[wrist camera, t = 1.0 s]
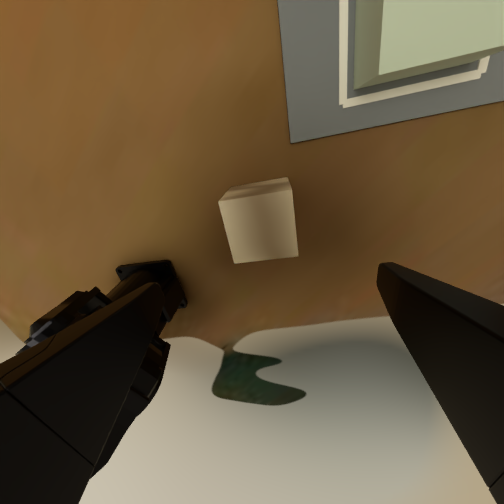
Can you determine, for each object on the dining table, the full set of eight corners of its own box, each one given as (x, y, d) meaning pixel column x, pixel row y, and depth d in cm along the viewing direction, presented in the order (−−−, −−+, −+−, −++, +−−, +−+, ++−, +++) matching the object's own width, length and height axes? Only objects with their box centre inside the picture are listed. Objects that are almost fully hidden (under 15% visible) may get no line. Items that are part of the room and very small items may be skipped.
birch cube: (242, 237, 21) (234, 263, 17) (230, 186, 19) (218, 201, 15) (293, 230, 20) (298, 256, 16) (287, 176, 18) (292, 189, 14)
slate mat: (290, 143, 17) (291, 143, 16) (267, -105, 11) (267, -114, 11) (532, 94, 14) (540, 93, 14) (652, -257, 9) (672, -278, 8)
